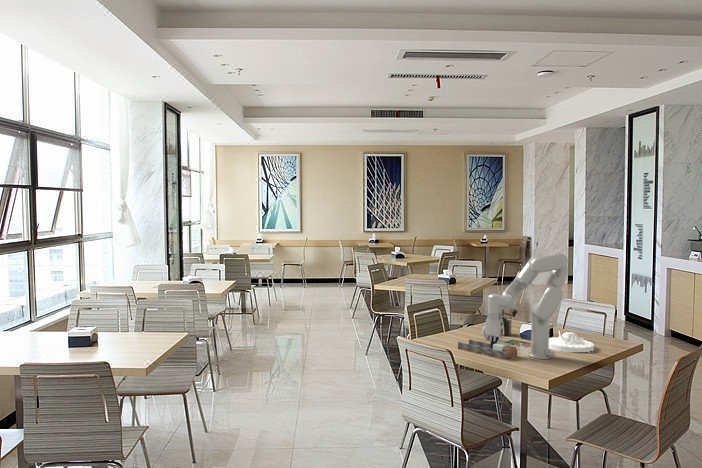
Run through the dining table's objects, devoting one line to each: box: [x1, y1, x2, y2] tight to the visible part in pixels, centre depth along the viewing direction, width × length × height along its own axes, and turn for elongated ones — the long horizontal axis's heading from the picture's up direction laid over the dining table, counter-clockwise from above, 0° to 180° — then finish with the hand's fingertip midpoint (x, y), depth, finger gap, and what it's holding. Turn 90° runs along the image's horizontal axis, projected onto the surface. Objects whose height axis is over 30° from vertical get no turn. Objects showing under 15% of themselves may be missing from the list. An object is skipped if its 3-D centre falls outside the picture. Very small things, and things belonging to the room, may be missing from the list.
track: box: [457, 339, 518, 361], centre depth 320 cm, size 32×12×6 cm, turn 42°
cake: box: [549, 330, 595, 353], centre depth 336 cm, size 28×28×10 cm
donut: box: [481, 325, 490, 341], centre depth 353 cm, size 10×4×10 cm, turn 62°
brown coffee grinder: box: [501, 308, 518, 337], centre depth 369 cm, size 16×11×18 cm
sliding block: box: [493, 341, 512, 352], centre depth 313 cm, size 6×9×5 cm
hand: (493, 347), depth 316 cm, fingers closed
